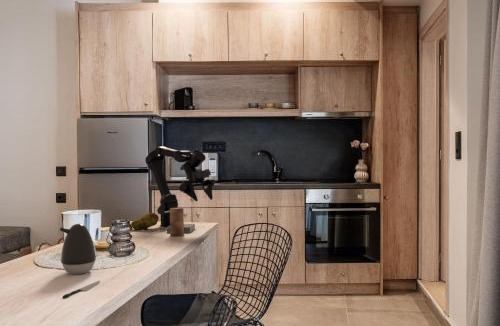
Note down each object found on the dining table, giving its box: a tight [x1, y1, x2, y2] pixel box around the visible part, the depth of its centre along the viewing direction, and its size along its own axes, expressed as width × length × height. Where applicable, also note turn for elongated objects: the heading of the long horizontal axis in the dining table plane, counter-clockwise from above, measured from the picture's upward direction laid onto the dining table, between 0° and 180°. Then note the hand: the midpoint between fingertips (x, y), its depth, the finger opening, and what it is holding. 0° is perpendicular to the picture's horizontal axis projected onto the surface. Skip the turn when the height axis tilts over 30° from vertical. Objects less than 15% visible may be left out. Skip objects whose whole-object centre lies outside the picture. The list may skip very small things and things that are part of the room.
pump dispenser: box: [59, 223, 97, 275], centre depth 151 cm, size 10×10×15 cm
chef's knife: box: [62, 280, 101, 299], centre depth 132 cm, size 19×1×3 cm
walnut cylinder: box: [169, 207, 185, 237], centre depth 218 cm, size 6×6×12 cm
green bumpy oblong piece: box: [130, 212, 159, 230], centre depth 237 cm, size 8×13×8 cm, turn 80°
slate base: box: [166, 223, 196, 234], centre depth 230 cm, size 11×11×2 cm
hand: (204, 200), depth 228 cm, fingers open, 9 cm apart
